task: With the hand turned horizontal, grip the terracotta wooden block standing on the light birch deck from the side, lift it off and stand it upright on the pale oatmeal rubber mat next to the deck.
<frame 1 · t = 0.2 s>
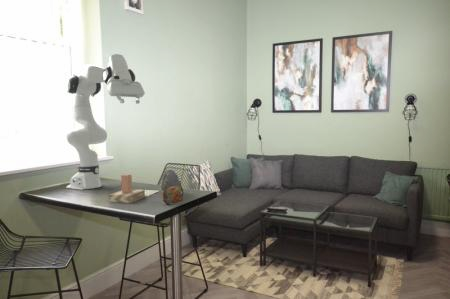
hand: (130, 102, 199), 54 cm above the table, tool tilted 25°, fingers open, 8 cm apart
mat: (142, 193, 222), on the table
deck: (127, 199, 207), on the table
tin: (173, 202, 199), on the table
decorative rock: (172, 195, 216), on the table
block: (127, 192, 207), point 4 cm above the table, touching deck
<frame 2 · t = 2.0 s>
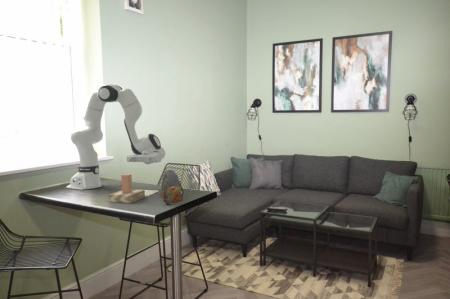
hand: (136, 160, 216), 21 cm above the table, tool horizontal, fingers open, 8 cm apart
nothing on the table moved.
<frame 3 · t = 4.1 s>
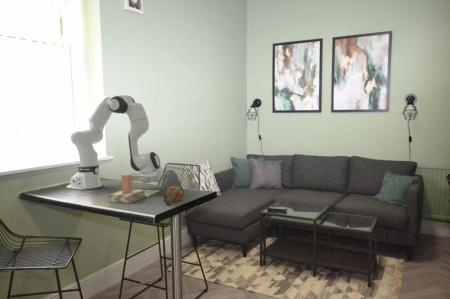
hand: (134, 179, 214), 9 cm above the table, tool horizontal, fingers open, 8 cm apart
nothing on the table moved.
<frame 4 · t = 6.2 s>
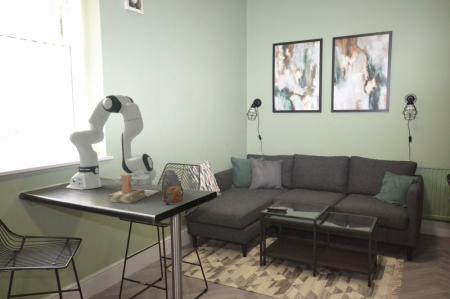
hand: (125, 183, 205), 10 cm above the table, tool horizontal, fingers closed on block, 4 cm apart
block: (127, 192, 207), point 4 cm above the table, touching deck, gripper
everything else where it was.
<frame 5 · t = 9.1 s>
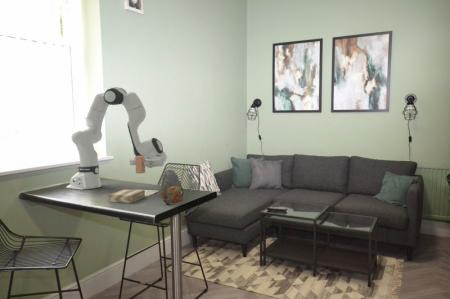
hand: (139, 163, 219), 18 cm above the table, tool horizontal, fingers closed on block, 4 cm apart
block: (140, 172, 220), point 12 cm above the table, touching gripper
everything else where it was.
when the fingers open (7 cm above the table, at t = 12.0 s): block drops 1 cm, resting on mat.
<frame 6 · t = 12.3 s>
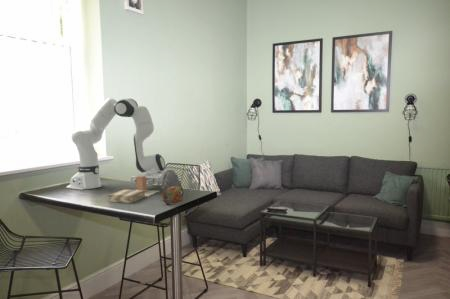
hand: (140, 181, 221), 7 cm above the table, tool horizontal, fingers open, 7 cm apart
block: (141, 192, 222), resting on mat
everything else where it was.
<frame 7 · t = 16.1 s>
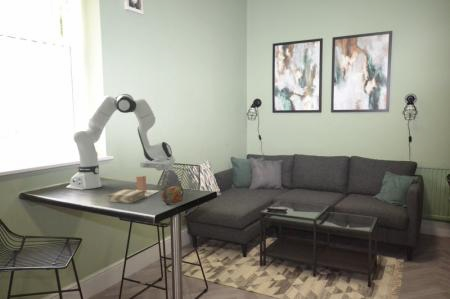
hand: (150, 166, 232), 14 cm above the table, tool horizontal, fingers open, 8 cm apart
nothing on the table moved.
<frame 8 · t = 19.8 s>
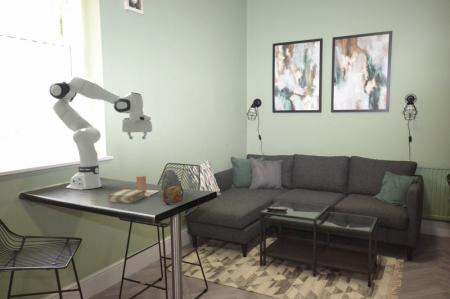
hand: (137, 139, 240), 31 cm above the table, tool pointing down, fingers open, 8 cm apart
nothing on the table moved.
at the end: block inside the target area (0.1 cm from its centre), resting on mat; block tilted 0°; the gripper is holding nothing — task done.
